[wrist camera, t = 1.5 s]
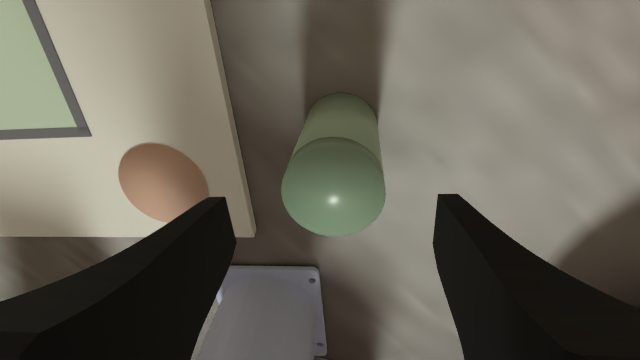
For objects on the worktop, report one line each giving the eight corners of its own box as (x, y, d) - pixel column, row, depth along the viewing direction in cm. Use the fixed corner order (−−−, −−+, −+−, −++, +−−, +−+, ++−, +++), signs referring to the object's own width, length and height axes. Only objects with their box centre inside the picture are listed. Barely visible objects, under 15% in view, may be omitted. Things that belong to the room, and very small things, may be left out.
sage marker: (377, 160, 20) (384, 236, 14) (308, 161, 21) (287, 236, 15) (377, 91, 18) (386, 145, 12) (302, 94, 19) (274, 148, 13)
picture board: (256, 229, 24) (253, 238, 23) (-5, 229, 26) (-16, 237, 25) (187, -111, 15) (178, -116, 14) (-196, -63, 17) (-222, -65, 17)
